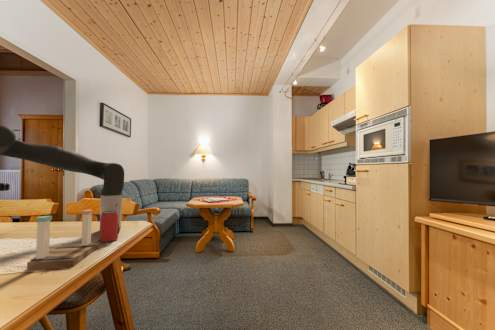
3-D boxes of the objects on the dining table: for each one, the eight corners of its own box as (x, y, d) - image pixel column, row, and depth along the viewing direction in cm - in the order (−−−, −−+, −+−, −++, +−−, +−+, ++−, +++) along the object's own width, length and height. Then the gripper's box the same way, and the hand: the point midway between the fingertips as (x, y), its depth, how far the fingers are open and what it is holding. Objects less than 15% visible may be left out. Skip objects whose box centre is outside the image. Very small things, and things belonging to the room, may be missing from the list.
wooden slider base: (61, 250, 88) (61, 243, 88) (97, 248, 90) (98, 241, 90) (27, 269, 70) (27, 261, 70) (73, 266, 72) (73, 258, 72)
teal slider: (41, 255, 75) (43, 215, 75) (50, 254, 75) (52, 215, 75) (34, 259, 71) (35, 218, 71) (43, 258, 72) (44, 217, 72)
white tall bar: (85, 243, 88) (86, 209, 88) (92, 242, 88) (93, 209, 89) (80, 246, 84) (81, 211, 85) (87, 245, 85) (88, 211, 85)
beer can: (109, 243, 97) (110, 213, 97) (95, 241, 98) (96, 212, 99) (121, 238, 103) (121, 210, 104) (108, 237, 105) (108, 210, 105)
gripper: (-92, 174, 62) (-12, 174, 65) (-41, 173, 75) (23, 174, 78) (-94, 203, 62) (-13, 202, 65) (-42, 197, 75) (22, 197, 78)
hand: (7, 186), depth 72 cm, fingers closed
